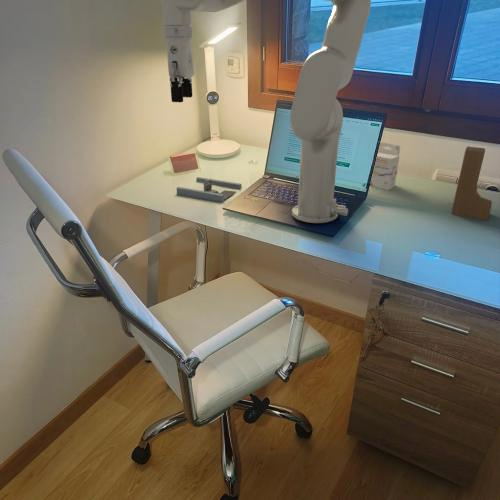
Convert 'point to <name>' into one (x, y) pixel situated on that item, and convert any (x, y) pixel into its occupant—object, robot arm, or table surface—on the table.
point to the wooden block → (471, 187)
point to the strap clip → (209, 187)
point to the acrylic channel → (210, 195)
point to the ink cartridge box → (385, 166)
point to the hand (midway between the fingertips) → (182, 99)
